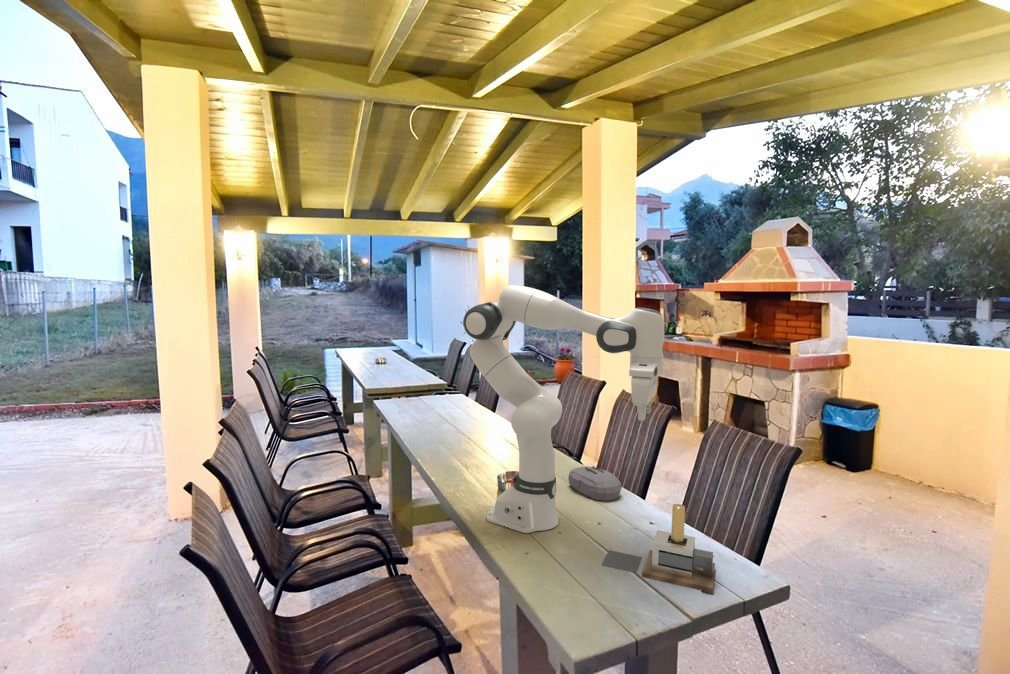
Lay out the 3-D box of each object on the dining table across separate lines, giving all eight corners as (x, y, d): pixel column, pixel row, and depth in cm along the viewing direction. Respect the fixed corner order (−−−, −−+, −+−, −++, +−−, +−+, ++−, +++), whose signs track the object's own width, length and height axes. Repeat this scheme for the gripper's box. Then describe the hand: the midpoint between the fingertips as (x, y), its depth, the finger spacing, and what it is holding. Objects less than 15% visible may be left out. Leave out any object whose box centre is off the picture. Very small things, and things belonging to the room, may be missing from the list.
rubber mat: (601, 567, 136) (601, 565, 136) (608, 551, 144) (608, 549, 144) (636, 574, 132) (636, 573, 132) (642, 558, 140) (642, 557, 140)
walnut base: (641, 578, 131) (642, 572, 131) (649, 555, 143) (649, 549, 142) (712, 594, 124) (713, 588, 124) (714, 568, 136) (714, 563, 136)
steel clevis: (651, 569, 132) (652, 542, 132) (656, 555, 139) (657, 530, 139) (711, 582, 126) (712, 554, 126) (712, 567, 134) (713, 540, 133)
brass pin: (669, 568, 133) (672, 507, 131) (670, 562, 136) (673, 503, 134) (681, 571, 132) (684, 509, 130) (682, 565, 134) (685, 505, 133)
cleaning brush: (562, 486, 193) (597, 506, 176) (563, 464, 192) (598, 482, 175) (594, 480, 200) (631, 498, 183) (595, 459, 200) (632, 475, 182)
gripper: (640, 361, 155) (639, 408, 156) (627, 370, 136) (626, 422, 137) (663, 363, 152) (661, 410, 153) (652, 372, 134) (650, 425, 135)
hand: (644, 416), depth 145 cm, fingers open, 8 cm apart
